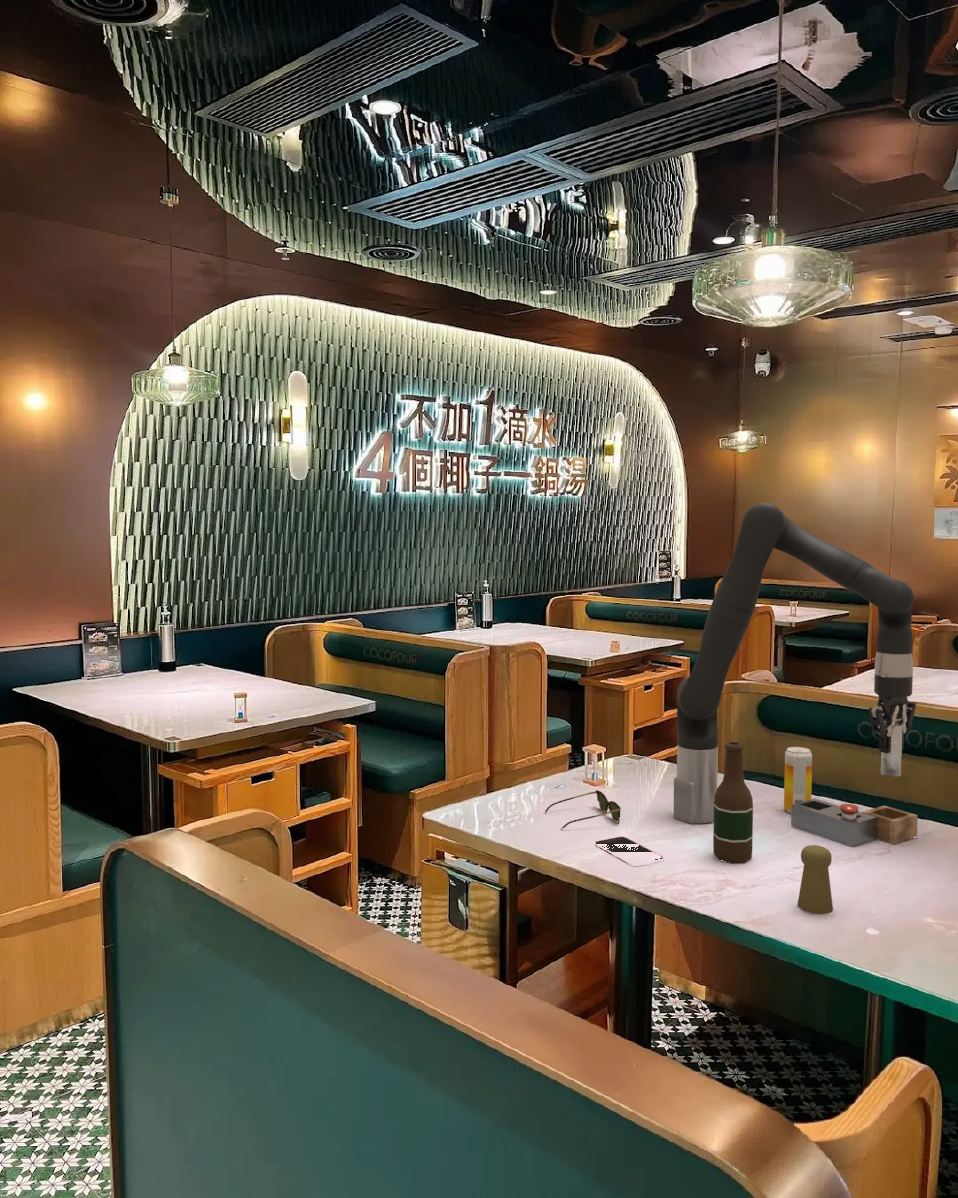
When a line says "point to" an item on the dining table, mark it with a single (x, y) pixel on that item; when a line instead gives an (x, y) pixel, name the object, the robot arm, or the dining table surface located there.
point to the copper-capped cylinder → (849, 811)
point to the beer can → (797, 776)
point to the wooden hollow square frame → (894, 824)
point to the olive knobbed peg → (815, 880)
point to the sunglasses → (604, 806)
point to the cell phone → (623, 841)
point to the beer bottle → (733, 811)
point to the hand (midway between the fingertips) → (891, 750)
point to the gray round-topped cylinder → (893, 753)
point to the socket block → (833, 822)
